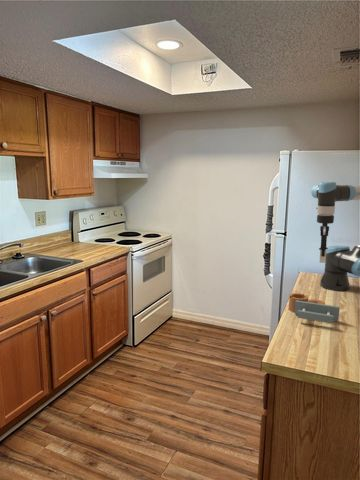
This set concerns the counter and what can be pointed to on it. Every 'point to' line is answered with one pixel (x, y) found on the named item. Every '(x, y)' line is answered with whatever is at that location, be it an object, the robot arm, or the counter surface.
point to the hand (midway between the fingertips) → (322, 262)
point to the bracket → (300, 297)
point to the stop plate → (316, 311)
